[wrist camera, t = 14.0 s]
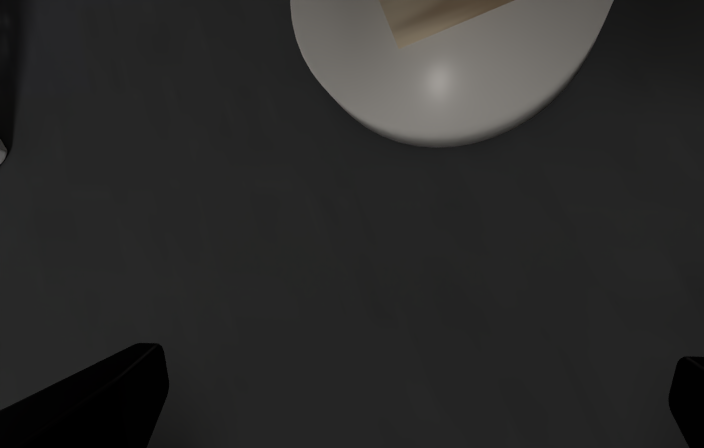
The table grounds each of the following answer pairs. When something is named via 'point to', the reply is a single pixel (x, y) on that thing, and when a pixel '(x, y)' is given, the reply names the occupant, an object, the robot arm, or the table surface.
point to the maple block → (430, 16)
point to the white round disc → (447, 66)
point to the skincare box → (2, 152)
